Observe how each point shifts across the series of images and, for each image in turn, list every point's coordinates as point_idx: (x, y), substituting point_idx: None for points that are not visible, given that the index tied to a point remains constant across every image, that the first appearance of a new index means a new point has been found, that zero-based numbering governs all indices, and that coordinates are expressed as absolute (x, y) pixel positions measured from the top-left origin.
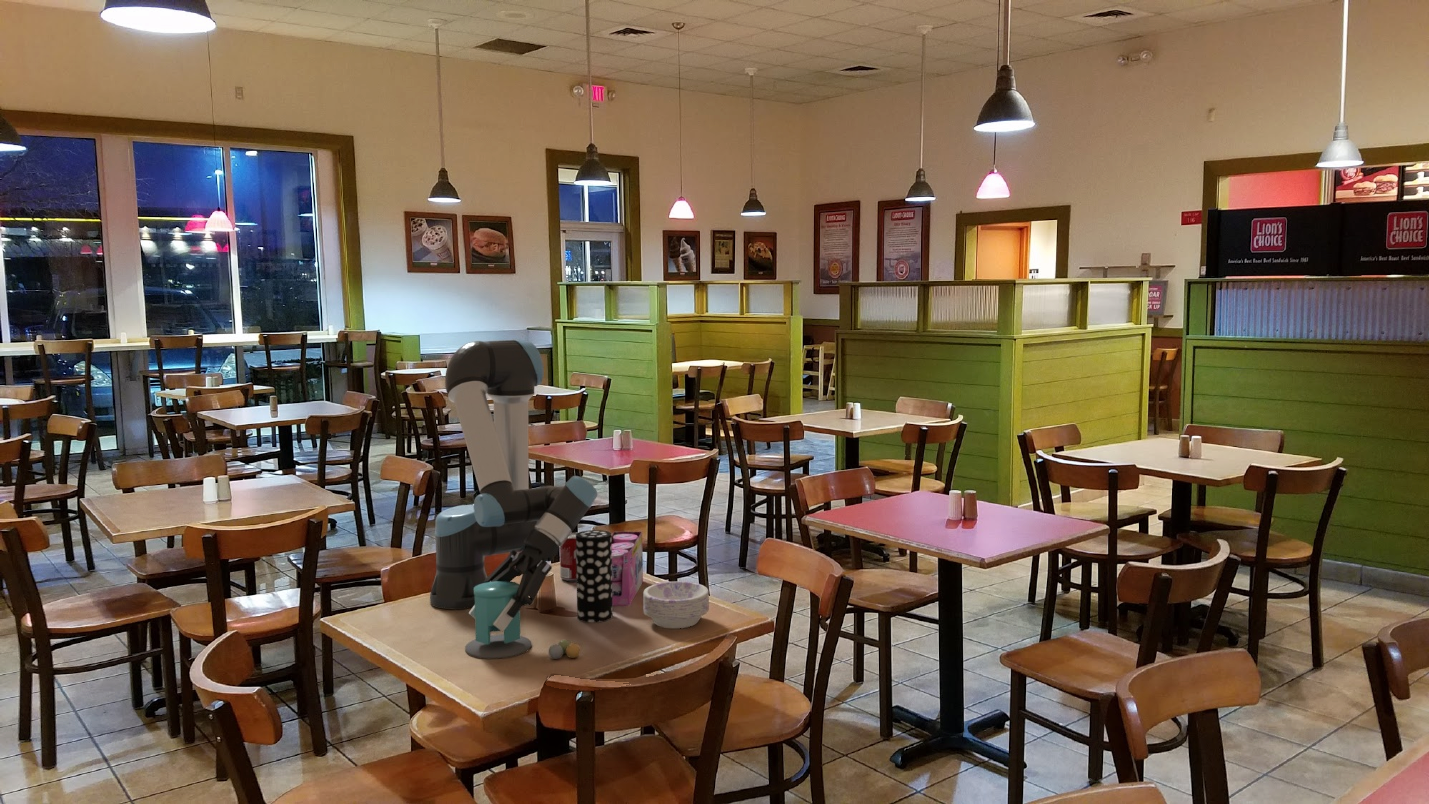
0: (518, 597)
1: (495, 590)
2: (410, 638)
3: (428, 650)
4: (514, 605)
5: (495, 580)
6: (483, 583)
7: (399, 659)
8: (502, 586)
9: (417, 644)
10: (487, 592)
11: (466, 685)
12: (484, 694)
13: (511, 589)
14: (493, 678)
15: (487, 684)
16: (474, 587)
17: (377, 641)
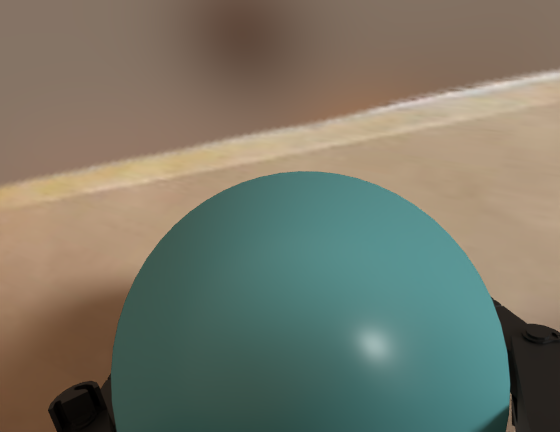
0: (59, 423)
1: (219, 282)
2: (523, 168)
3: (391, 186)
4: (108, 391)
5: (540, 394)
6: (467, 267)
7: (354, 124)
8: (295, 374)
9: (458, 173)
10: (208, 222)
11: (100, 204)
12: (25, 222)
13: (159, 411)
14: (88, 268)
15: (67, 244)
16: (377, 186)
17: (520, 104)
